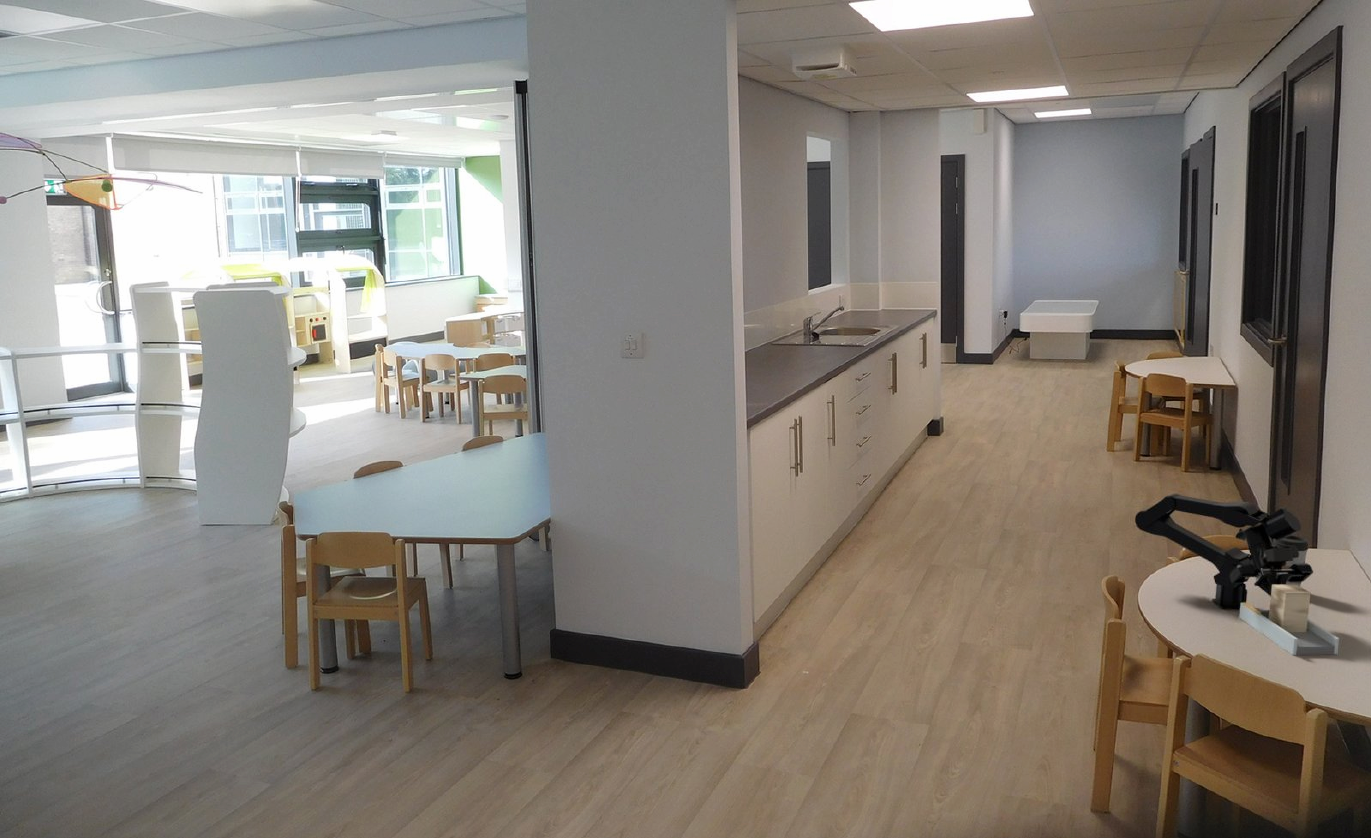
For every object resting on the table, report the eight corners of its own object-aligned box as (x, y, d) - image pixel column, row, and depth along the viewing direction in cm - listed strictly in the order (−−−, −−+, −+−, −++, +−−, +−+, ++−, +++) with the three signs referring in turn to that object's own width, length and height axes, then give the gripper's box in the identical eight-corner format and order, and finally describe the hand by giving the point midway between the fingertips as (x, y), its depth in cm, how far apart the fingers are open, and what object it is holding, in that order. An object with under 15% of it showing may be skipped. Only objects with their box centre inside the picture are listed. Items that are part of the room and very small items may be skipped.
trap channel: (1239, 617, 279) (1240, 601, 278) (1280, 617, 279) (1282, 600, 278) (1292, 655, 255) (1294, 637, 254) (1337, 654, 255) (1339, 636, 254)
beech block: (1268, 623, 269) (1272, 584, 268) (1292, 622, 270) (1296, 584, 268) (1281, 632, 264) (1285, 592, 262) (1306, 632, 264) (1310, 592, 262)
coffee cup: (1272, 584, 304) (1277, 532, 301) (1306, 590, 298) (1311, 537, 296) (1265, 592, 297) (1270, 539, 294) (1299, 598, 292) (1305, 545, 289)
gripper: (1240, 533, 271) (1260, 591, 262) (1313, 532, 272) (1336, 589, 263) (1220, 554, 280) (1239, 610, 271) (1291, 553, 281) (1312, 609, 272)
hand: (1282, 604), depth 269 cm, fingers closed
